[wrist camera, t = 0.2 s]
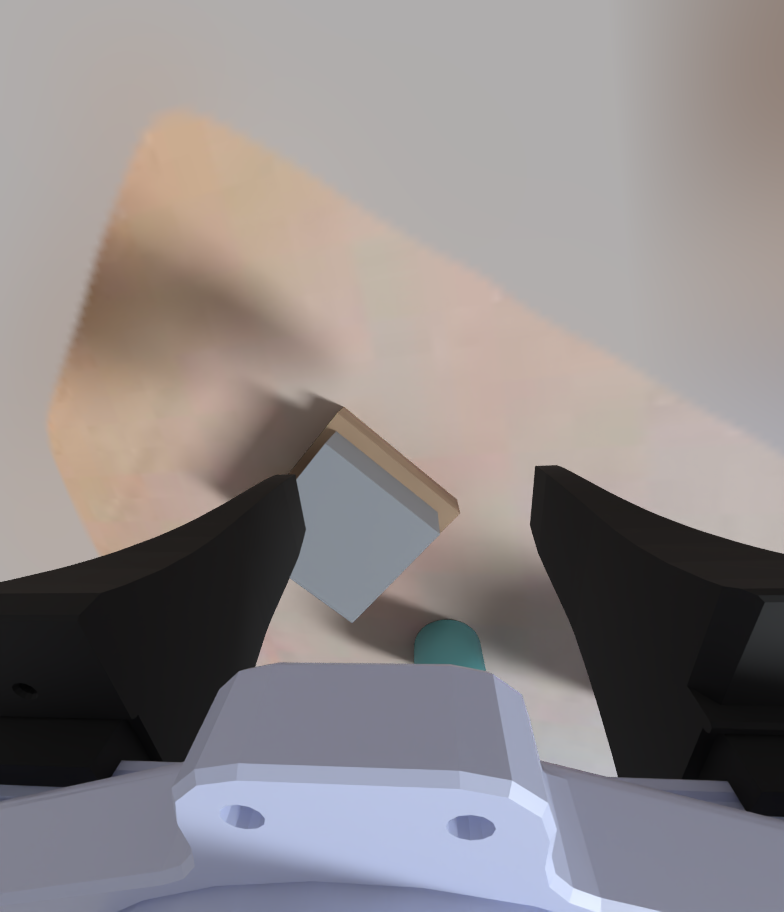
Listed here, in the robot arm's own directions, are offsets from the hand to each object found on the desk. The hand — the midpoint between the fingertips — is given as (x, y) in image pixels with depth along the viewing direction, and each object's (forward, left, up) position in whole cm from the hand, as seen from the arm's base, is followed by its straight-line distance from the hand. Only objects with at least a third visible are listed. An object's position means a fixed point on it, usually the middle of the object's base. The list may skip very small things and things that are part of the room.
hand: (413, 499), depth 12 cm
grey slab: (-6, 0, -9) cm, 11 cm away
